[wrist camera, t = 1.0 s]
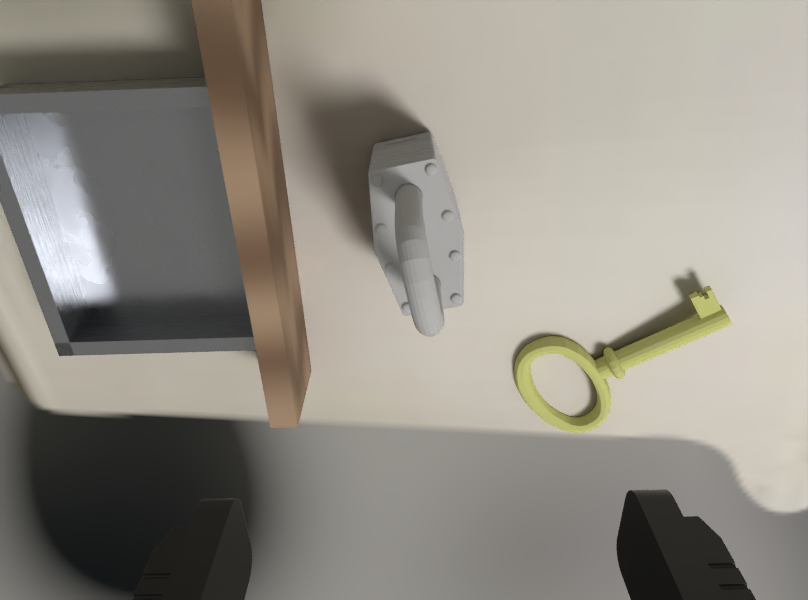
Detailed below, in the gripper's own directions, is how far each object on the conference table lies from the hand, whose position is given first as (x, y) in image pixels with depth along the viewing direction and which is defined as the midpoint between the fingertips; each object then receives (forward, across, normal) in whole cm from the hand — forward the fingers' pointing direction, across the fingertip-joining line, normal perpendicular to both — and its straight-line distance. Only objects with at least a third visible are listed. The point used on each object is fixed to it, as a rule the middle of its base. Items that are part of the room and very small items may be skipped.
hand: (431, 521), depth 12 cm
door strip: (+20, +7, 0) cm, 21 cm away
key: (+20, -11, +10) cm, 25 cm away
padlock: (+20, 0, 0) cm, 20 cm away
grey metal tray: (+20, +13, 0) cm, 24 cm away
